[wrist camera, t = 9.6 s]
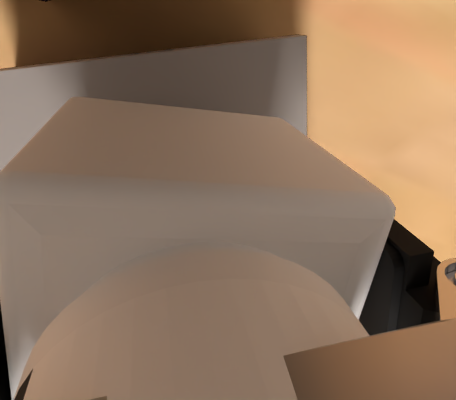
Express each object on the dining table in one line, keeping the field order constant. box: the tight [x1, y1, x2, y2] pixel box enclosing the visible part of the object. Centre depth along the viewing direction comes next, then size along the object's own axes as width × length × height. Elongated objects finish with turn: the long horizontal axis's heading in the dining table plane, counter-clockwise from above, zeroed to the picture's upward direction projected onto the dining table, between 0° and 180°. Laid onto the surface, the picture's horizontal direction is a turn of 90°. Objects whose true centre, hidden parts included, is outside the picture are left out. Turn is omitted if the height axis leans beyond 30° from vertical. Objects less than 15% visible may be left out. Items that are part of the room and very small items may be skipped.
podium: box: [0, 35, 307, 171], centre depth 17 cm, size 12×10×4 cm
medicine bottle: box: [0, 97, 396, 400], centre depth 9 cm, size 7×7×12 cm
